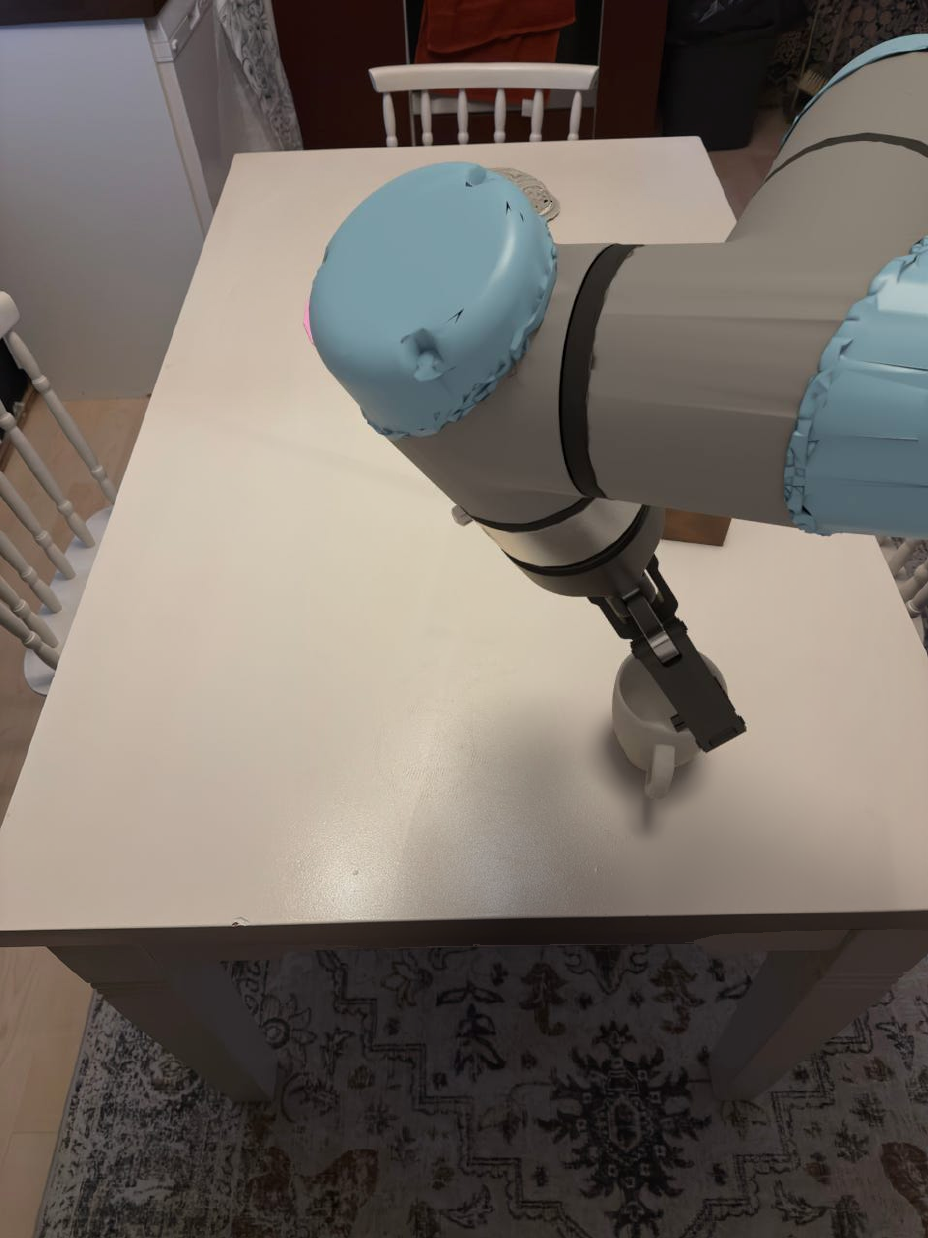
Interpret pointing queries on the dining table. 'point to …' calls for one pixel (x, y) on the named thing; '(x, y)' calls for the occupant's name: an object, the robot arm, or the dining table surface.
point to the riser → (695, 527)
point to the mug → (651, 725)
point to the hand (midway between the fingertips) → (658, 627)
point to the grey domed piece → (531, 190)
